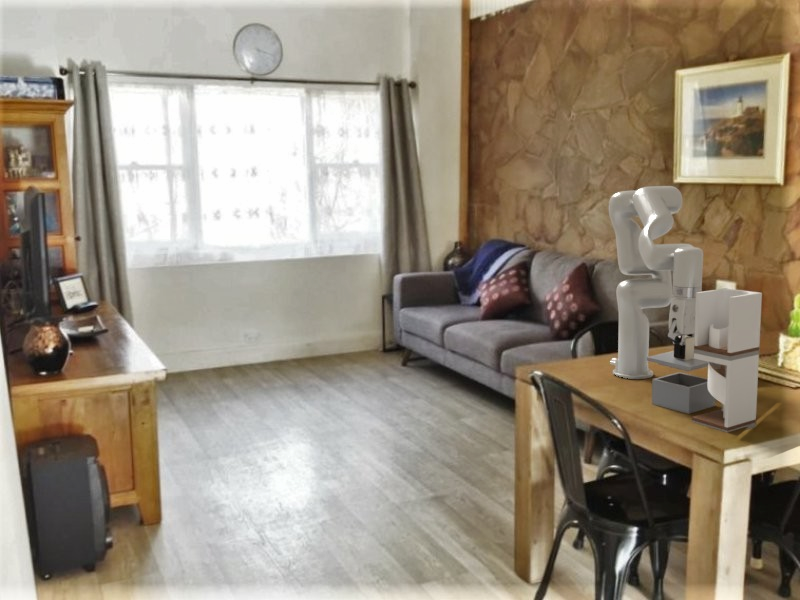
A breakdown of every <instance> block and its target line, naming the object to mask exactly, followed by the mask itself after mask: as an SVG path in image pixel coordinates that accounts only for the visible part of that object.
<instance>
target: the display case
mask: <svg viewBox="0 0 800 600" xmlns="http://www.w3.org/2000/svg"><path fill="white" fill-rule="evenodd" d="M762 298H763V293H762V292H758V291H751V290H750V291H749V290H743V289H733V288H719V289H712V290H705V291H702V292H697V293H696V312H695V341H694V359H699V360H704V361H708V366H707V379H708V382H707V388H708V391H709V392H710V394H711V395H712V396H713V397H714V398H715V399H716V400H715V401H718V402H720V403H721V408H720V409H715V410H713V411H709V412H705V413H701V414H697V415H693V416H691V422H692V423H695V424H697V425H702V426H705V427H708V428H712V429H714V430H718V431H722V432H724V433H730V432H733V431H737V430H740V429H744V428H745V429H744V431H747V430H750V429H754V428H756V425H757V424H756V423H757V421H756V420H757V406H758V383H759V379H758V378H759V366H760V365H759V363H760V362H759V360H760V345H761V344H760V342H761V338H760V337H761V323H762V322H761V320H762V318H761V317H762V303H763V302H762V300H763V299H762Z"/></svg>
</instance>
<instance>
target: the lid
mask: <svg viewBox="0 0 800 600" xmlns="http://www.w3.org/2000/svg"><path fill="white" fill-rule="evenodd" d="M678 337H679V338H680V337H681V336H679V335H678ZM694 338H695V337H691V336H686V335H685V339H684V345H685V359H679V358H675V357H674V350H671V351H666V352H662V353H659V354H654V355H650V356H648V357H647V361H648V362H651V363H655V364H658V365H659V366H664V367H668V368H672V369H676V370H680V371H683V372H692V371H696V370H699V369H703V368H706V367H707V368H708V361H704V360H699V359H694Z"/></svg>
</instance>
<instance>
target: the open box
mask: <svg viewBox="0 0 800 600" xmlns="http://www.w3.org/2000/svg"><path fill="white" fill-rule="evenodd" d="M707 382H708V377H707V378H706V377H701V376H698V375H693V374H689V373H684V372H679V371H678V372H675V373H671V374H666V375H663V376H659V377H655V378H652V382H651V383H652V384H651V387H652V388H651V389H652V390H651V404H652V405H653V406H657V407H662V408H665V409H669V410H672V411H676V412H680V413H683V414H687V415H690V414H693V413H697V412H700V411H703V410H707V409H709V408H712V407H716V401H717V400H716V399H715V398H714V397H713V396H712V395H711V394H710V392H709V391H708V388H707Z"/></svg>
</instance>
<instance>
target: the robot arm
mask: <svg viewBox="0 0 800 600" xmlns="http://www.w3.org/2000/svg"><path fill="white" fill-rule="evenodd" d="M682 207H683V195H682V192H681V191H680V189H678V188H677V187H676V186H672V185H659V186H658V185H656V186H655V185H652V186H650V185H649V186H643V187H640V188H638V189H635V190H633V189H632V190H623V191H618V192H616V193H614V194H613V195H611V197H610V199H609V201H608V215H609V219H610V223H611V226H612V228H613V231H614V233H615V242H616V244H615V245H616V253H617V264H618V268H619V271H620V273H621V274H623V275H626V276H647V275H648V276H651V277H652V278H631V279H625V280H623V281H620V282H619V283H618V284H617V285H616V286H617V287H616V290H615V291H616V292H615V293H616V294H615V295H616V302H617V311H618V334H617V335H618V337H617V338H618V340H617V343H618V344H617V345H618V346H617V347H618V349H617V351H618V352H617V358H616V357H612V358H611V360H610V361H609V365H613V366H614V367H615V368H614V369H612V375H614V374H615V375H616V376H615V375H614V376H615V377H618V376H619V377H618V378H621V377H623V379H627V378H628V380H629V379H630V380H642V379H643V380H645V379H650V378H652V377H653V376H654V371H653V370H651V369H649V361H647V357H649V349H650V348H649V347H650V343H649V342H650V321H649V319H648V317H647V315H646V314H645V313H644V312H643V310H644V309H653V308H655V309H656V308H665V307H668V306H670V307H669V314H668V315H669V316H668V334H667V337H668V338H669V339H671V340H672V343H673V351H674V357H675V358H679V359H685V345H684V339H685V335H686V336H691V337H695V312H696V293H697V292H703V291H702V290H703V289H702V288H703V286H702V285H703V266H704V265H703V264H704V251H703V249H701V247H695V246H694V245H693V244H691V243H660V244H658V243H657V244H656V243H655V242H654V240H656V239H658V238H660V237H662V236H664V235H666V234H667V233H668V232H670V230H672V228H673V226H674V223H675V219H674V216H673V214H677V213H679V211H680V210H681V209H682ZM633 218H639V220H640V221H641V223H642V226H643V228H641V226H640V225H639V224H638V223H637V221H635V220H634V219H633ZM671 271H672V273H671ZM678 336H681V337H680V338H679V337H678ZM694 341H695V338H694Z"/></svg>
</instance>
